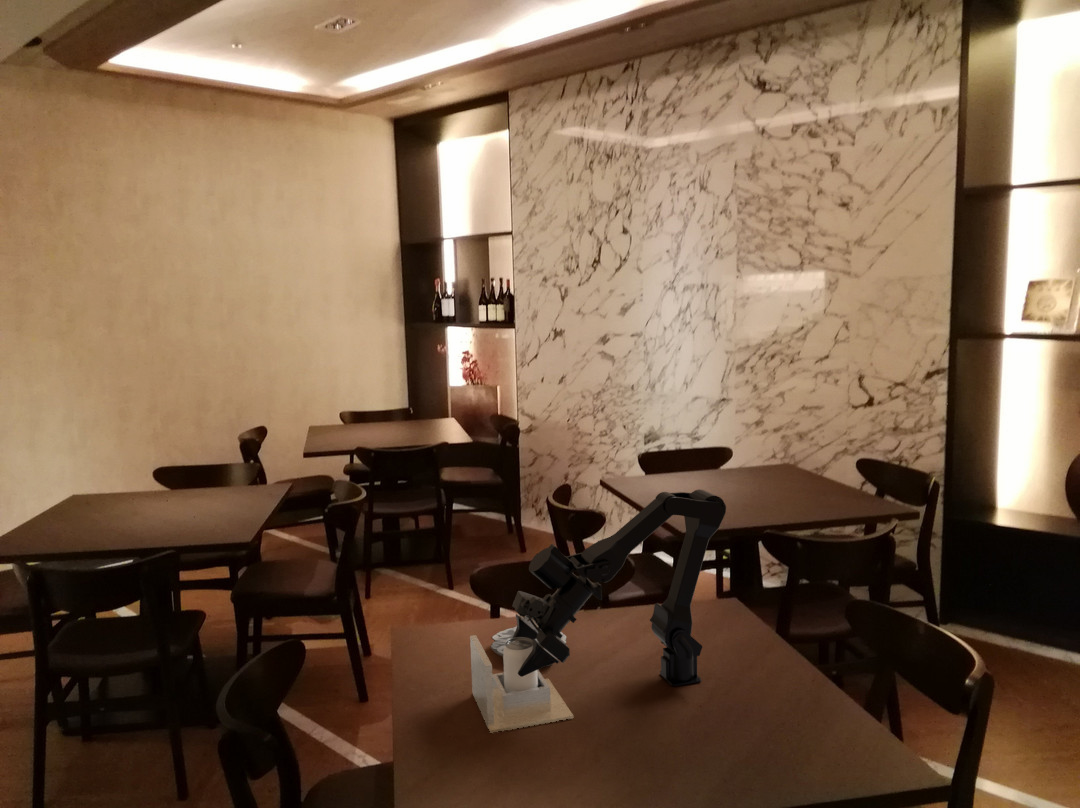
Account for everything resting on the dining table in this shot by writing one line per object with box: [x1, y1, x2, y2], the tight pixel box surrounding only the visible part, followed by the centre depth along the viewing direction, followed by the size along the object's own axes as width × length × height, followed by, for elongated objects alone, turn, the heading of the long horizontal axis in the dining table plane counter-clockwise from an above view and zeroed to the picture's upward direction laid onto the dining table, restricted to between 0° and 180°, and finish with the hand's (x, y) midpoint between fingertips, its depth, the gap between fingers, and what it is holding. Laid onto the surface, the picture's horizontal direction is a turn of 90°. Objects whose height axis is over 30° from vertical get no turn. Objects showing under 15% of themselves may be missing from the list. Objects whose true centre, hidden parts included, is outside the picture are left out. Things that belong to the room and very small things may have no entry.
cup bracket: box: [469, 634, 575, 734], centre depth 155 cm, size 16×16×13 cm
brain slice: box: [490, 625, 567, 668], centre depth 179 cm, size 20×17×3 cm
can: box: [502, 637, 538, 693], centre depth 155 cm, size 6×6×12 cm
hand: (513, 664), depth 154 cm, fingers open, 9 cm apart
